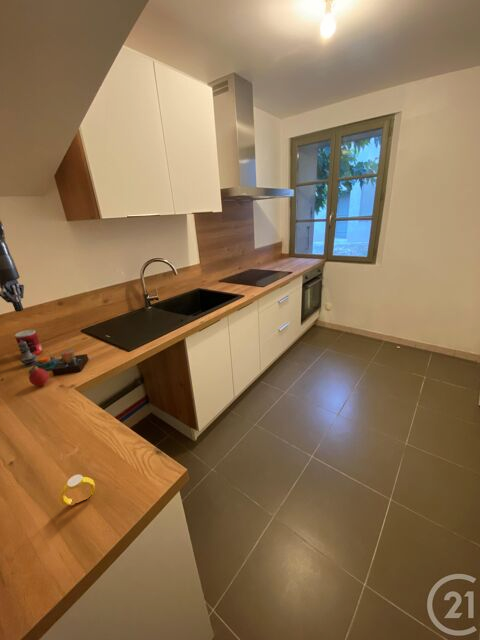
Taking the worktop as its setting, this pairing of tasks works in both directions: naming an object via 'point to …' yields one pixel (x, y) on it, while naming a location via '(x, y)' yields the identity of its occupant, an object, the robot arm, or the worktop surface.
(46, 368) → the ignition block
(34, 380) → the red round piece
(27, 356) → the grey chess piece
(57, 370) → the black square tray
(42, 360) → the ignition button
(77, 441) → the worktop surface
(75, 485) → the watch
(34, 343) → the canned food
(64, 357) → the hob knob
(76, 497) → the worktop surface
